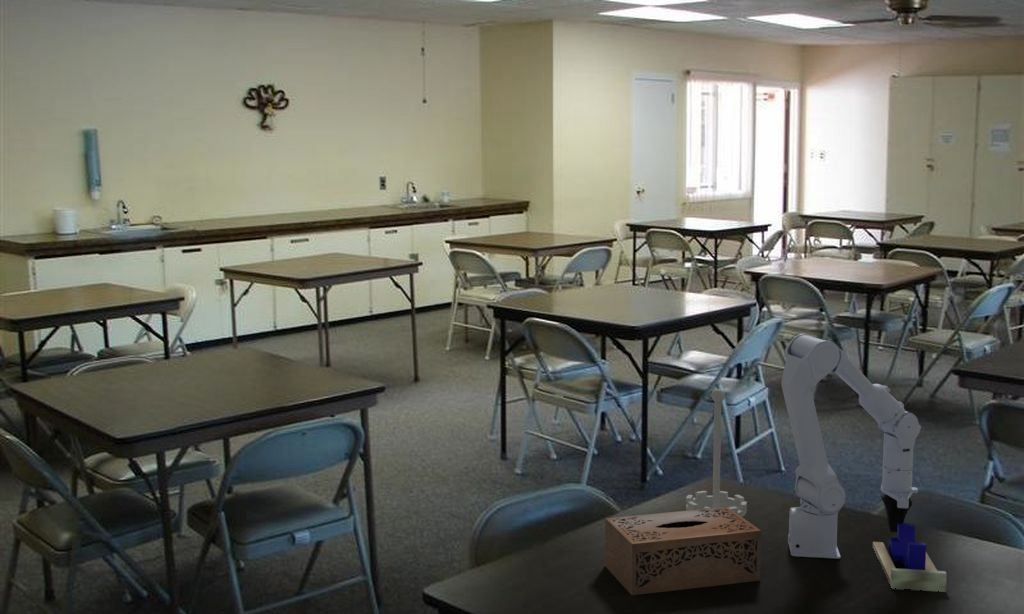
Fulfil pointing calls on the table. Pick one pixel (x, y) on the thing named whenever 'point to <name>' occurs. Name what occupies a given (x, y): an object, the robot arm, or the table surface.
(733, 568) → the tissue box cover
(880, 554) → the channel
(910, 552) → the blue stepped block
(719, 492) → the flag stand
